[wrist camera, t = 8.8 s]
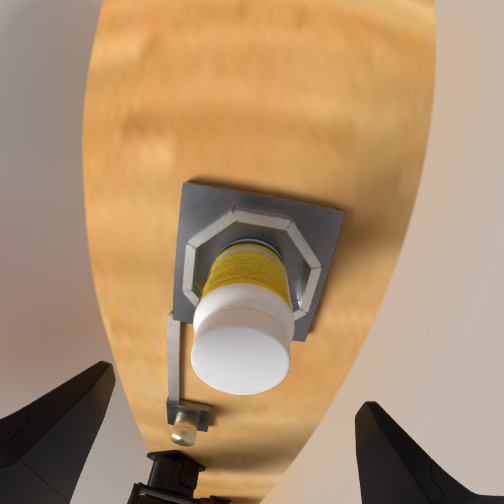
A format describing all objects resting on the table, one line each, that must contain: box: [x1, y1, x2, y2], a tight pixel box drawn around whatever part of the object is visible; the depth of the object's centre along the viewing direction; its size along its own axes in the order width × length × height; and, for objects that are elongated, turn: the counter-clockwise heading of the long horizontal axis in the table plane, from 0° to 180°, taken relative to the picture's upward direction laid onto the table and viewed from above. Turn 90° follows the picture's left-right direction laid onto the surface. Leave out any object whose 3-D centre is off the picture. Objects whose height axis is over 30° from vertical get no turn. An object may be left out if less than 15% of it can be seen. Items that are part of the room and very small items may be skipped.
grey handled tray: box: [166, 181, 345, 446], centre depth 20 cm, size 25×11×4 cm, turn 170°
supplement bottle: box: [191, 239, 295, 395], centre depth 14 cm, size 5×5×8 cm
